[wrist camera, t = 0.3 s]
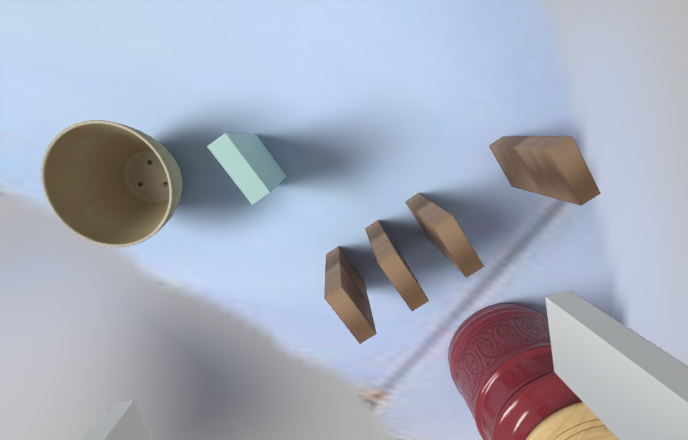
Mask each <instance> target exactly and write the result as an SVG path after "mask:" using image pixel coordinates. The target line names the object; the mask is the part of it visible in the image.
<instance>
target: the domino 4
mask: <svg viewBox="0 0 688 440" xmlns="http://www.w3.org/2000/svg"><path fill="white" fill-rule="evenodd" d="M406 204H407V205H408V207H409V209H410V210H411V212H412V213H413V215H414V216H415V218H416V219H417V221H418V222H419V224H420V225H421V227H422V229H423V230H424V232H425V233H426V235H427V236H428V238H429V239H430V240H431V242H432V243H433V244H434V245H435V246H436V247H437V248H438V249H439V250H440V251H441V252H442V253H443V254H444V255H445V256H446V257H447V258H448V259H449V260H450V261H451V262H452V263H453V264H454V265H455V266H456V267H457V268H458V270H459V271H460V272H461V273H462V274H463V275H464V276H465V277H468V276H470V275H471V274H473V273H474V272H476V271H478V270H479V269H481V268H482V267H484V266H483V264H482V262H481V261H480V259H479V257H478V256H477V254H476V253H475V251H474V249H473V248H472V246H471V245H470V243H469V241H468V240H467V238H466V237H465V235H464V233H463V232H462V230H461V228H460V227H459V225H458V224H457V222H456V220H455V219H454V217H453V216H452V215H451V214H450V213H448V212H447V211H445V210H444V209H442V208H441V207H439V206H437V205H436V204H434V203H433V202H431V201H430V200H428V199H427V198H425V197H423V196H422V195H420V194H419V193H418V194H416V195H415V196H413V197H412V198H410V199H409V200H407V201H406Z"/></svg>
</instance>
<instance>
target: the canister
mask: <svg viewBox="0 0 688 440" xmlns="http://www.w3.org/2000/svg"><path fill="white" fill-rule="evenodd" d="M448 360H449V366H450V372H451V376H452V379H453V381H454V383H455V385H456V387H457V389H458V391H459V393H460V394H461V395H462V397H463V398H464V400H465V401H466V403H467V405H468V407H469V409H470V411H471V413H472V415H473V417H474V419H475V422H476V426H477V429H478V431H479V433H480V435H481V437H482V438H483V440H619V439H618V438H617V437H616V436H615V435H614V434H613V433H612V432H611V431H610V430H609V429H608V428H607V427H606V426H605V425H604V424H603V422H602V421H601V420H600V419H599V418H598V417H597V416H596V415H595V414H594V413H593V412H592V411H591V410H590V409H589V408H588V407H587V406H586V405H585V404H584V403H583V401H582V400H581V399H580V398H579V397H578V396H577V395H576V394H575V393H574V392H573V391H572V390H571V389H570V388H569V387H568V386H567V385H566V384H565V383H564V382H563V381H562V379H561V378H560V377H559V376H558V375H557V374H556V373H555V372H554V365H553V357H552V349H551V341H550V332H549V324H548V318H547V317H546V316H545V315H543V314H541V313H539V312H537V311H535V310H533V309H531V308H529V307H526V306H523V305H519V304H497V305H493V306H490V307H487V308H484V309H482V310H480V311H478V312H476V313H475V314H473V315H472V316H470V317H469V318H468V319H467V320H465V321H464V322H463V323H462V325H461V326H460V327H459V328H458V330H457V331H456V333H455V334H454V336H453V338H452V341H451V343H450V347H449V354H448Z"/></svg>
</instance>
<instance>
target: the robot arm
mask: <svg viewBox="0 0 688 440" xmlns="http://www.w3.org/2000/svg"><path fill="white" fill-rule="evenodd" d="M545 299H546V307H547V316H548V324H549V332H550V341H551V349H552V357H553V365H554V372H555V373H556V374H557V375H558V376H559V377H560V378H561V379H562V381H563V382H564V383H565V384H566V385H567V386H568V387H569V388H570V389H571V390H572V391H573V392H574V393H575V394H576V395H577V396H578V397H579V398H580V399H581V400H582V401H583V403H584V404H585V405H586V406H587V407H588V408H589V409H590V410H591V411H592V412H593V413H594V414H595V415H596V416H597V417H598V418H599V419H600V420H601V421H602V422H603V424H604V425H605V426H606V427H607V428H608V429H609V430H610V431H611V432H612V433H613V434H614V435H615V436H616V437H617V438H618V439H619V440H688V366H687V365H685V364H684V363H682V362H681V361H679V360H678V359H676V358H675V357H673V356H671V355H670V354H668V353H667V352H665V351H664V350H662V349H661V348H659V347H657V346H656V345H654V344H653V343H651V342H650V341H648V340H646V339H645V338H643V337H642V336H640V335H639V334H637V333H635V332H634V331H632V330H631V329H629V328H628V327H626V326H625V325H623V324H622V323H620V322H618V321H617V320H615V319H614V318H612V317H611V316H609V315H607V314H606V313H604V312H603V311H601V310H600V309H598V308H597V307H595V306H593V305H592V304H590V303H589V302H587V301H586V300H584V299H583V298H581V297H579V296H578V295H576V294H575V293H573V292H572V291H566V292H562V293H558V294H554V295H550V296H546V297H545ZM83 440H154V439H153V437H152V435H151V434H150V431H149V429H148V427H147V425H146V423H145V421H144V419H143V417H142V415H141V413H140V411H139V409H138V407H137V405H136V403H135V401H134V400H131V401H127V402H123V403H119V404H115V405H111V406H110V407H109V408H108V410H107V411H106V412H105V413H104V415H103V416H102V417H101V418H100V419H99V421H98V422H97V423H96V424H95V425H94V427H93V428H92V429H91V430H90V432H89V433H88V434H87V435H86V436H85V438H84V439H83Z"/></svg>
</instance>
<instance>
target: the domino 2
mask: <svg viewBox="0 0 688 440" xmlns="http://www.w3.org/2000/svg"><path fill="white" fill-rule="evenodd" d="M324 298H325V300H326V301H327V302H328V303H329V305H330V306H331V307H332V309H333V310H334V311H335V312H336V314H337V315H338V316H339V318H340V319H341V320H342V321H343V323H344V324H345V325H346V327H347V328H348V329H349V330H350V332H351V333H352V334H353V336H354V337H355V338H356V340H357V341H358V342H359V343H360V344H361V343H362V342H364V341H366V340H367V339H369V338H370V337H372V336H374V335H375V334H376V330H375V325H374V321H373V317H372V312H371V308H370V304H369V300H368V295H367V291H366V287H365V283H364V281H363V279H362V278H361V277H360V275H359V274H358V273H357V271H356V270H355V269H354V267H353V266H352V264H351V263H350V262H349V260H348V259H347V258H346V256H345V255H344V253H343V252H342V251H341V249H340V248H339V247H337V248H335V249H334V250H332V251H331V252H329V253H328V254H326V268H325V295H324Z"/></svg>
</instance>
